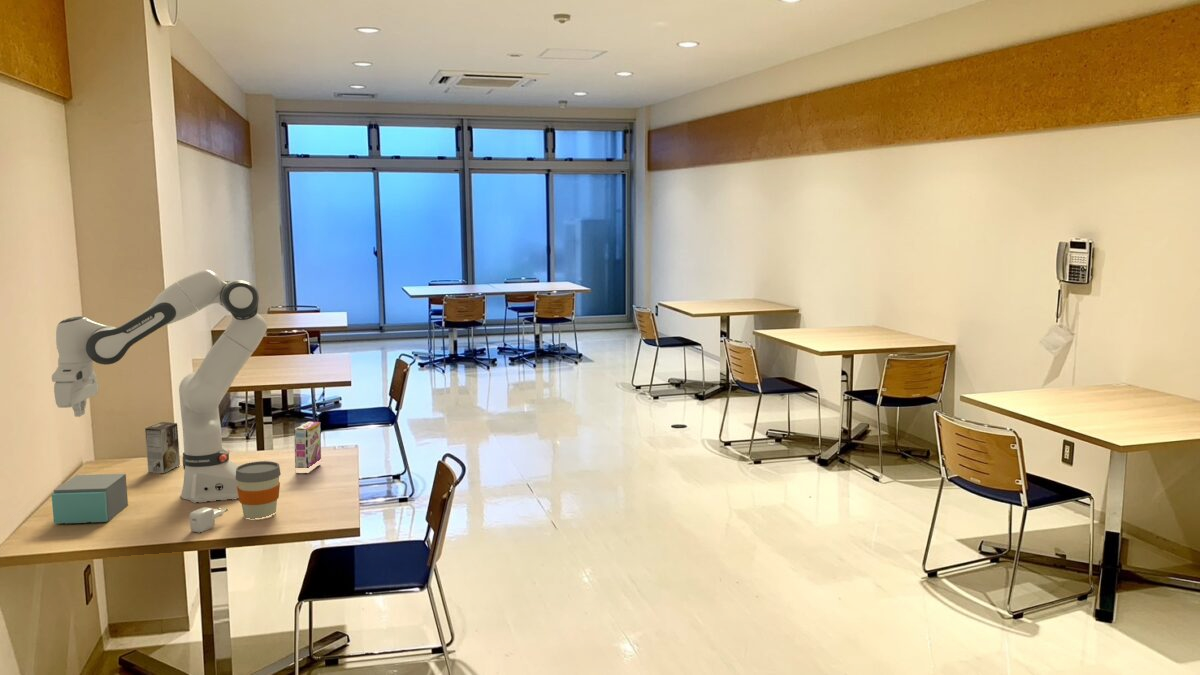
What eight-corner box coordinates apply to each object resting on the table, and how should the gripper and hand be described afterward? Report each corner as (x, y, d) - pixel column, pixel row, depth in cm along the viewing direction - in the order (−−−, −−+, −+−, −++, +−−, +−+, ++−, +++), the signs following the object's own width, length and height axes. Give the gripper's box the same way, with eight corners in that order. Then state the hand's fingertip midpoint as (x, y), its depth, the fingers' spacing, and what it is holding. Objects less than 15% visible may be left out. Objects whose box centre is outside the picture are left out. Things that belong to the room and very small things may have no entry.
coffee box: (164, 465, 295) (161, 421, 292) (180, 466, 294) (178, 422, 291) (147, 472, 286) (144, 428, 283) (164, 474, 285) (161, 428, 283)
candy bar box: (308, 474, 287) (306, 429, 285) (294, 474, 287) (293, 428, 285) (322, 465, 298) (321, 421, 296) (309, 464, 298) (307, 420, 296)
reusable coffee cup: (232, 513, 249) (230, 465, 247) (275, 504, 257) (273, 458, 254) (243, 525, 239) (241, 476, 237) (287, 516, 247) (285, 468, 245)
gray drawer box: (128, 505, 254) (125, 473, 252) (108, 521, 240) (106, 488, 239) (78, 507, 252) (76, 475, 250) (56, 523, 238) (53, 490, 237)
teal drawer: (125, 505, 252) (123, 477, 251) (106, 521, 239) (104, 492, 237) (76, 507, 250) (74, 479, 249) (53, 523, 236) (51, 494, 235)
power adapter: (218, 518, 244) (217, 499, 243) (231, 521, 243) (230, 502, 242) (188, 531, 234) (186, 512, 233) (201, 534, 232) (200, 514, 231)
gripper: (80, 364, 256) (83, 407, 258) (48, 377, 236) (52, 424, 238) (102, 364, 257) (105, 407, 259) (72, 377, 237) (76, 423, 239)
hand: (79, 415), depth 248 cm, fingers closed
